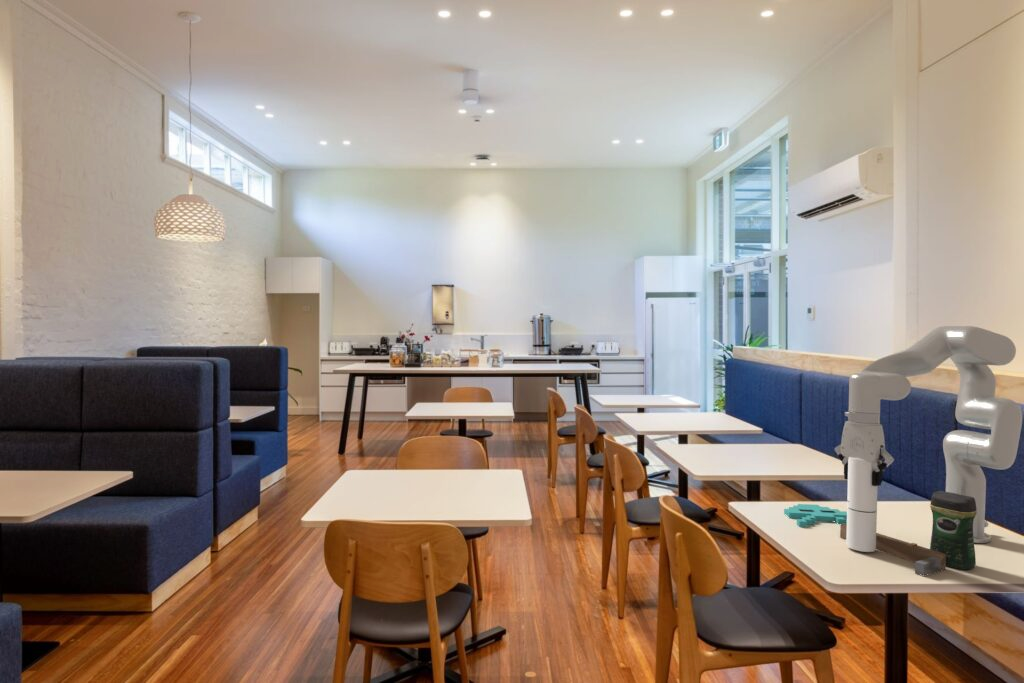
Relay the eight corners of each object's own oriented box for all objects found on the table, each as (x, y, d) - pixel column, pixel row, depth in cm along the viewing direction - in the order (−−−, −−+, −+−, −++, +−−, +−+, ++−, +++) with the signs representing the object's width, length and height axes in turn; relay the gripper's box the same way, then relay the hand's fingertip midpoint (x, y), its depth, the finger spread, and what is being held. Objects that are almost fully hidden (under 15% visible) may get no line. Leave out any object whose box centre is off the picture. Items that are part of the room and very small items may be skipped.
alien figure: (867, 531, 184) (838, 512, 204) (867, 524, 184) (838, 505, 204) (799, 528, 186) (777, 509, 206) (799, 521, 186) (777, 502, 206)
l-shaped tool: (844, 536, 178) (845, 522, 177) (945, 569, 154) (946, 552, 154) (822, 541, 173) (823, 526, 173) (923, 576, 149) (924, 559, 149)
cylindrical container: (870, 543, 169) (872, 455, 169) (879, 553, 162) (882, 461, 162) (842, 541, 171) (844, 454, 171) (850, 550, 164) (852, 459, 164)
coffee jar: (979, 566, 156) (982, 495, 156) (967, 573, 151) (969, 500, 151) (937, 554, 164) (939, 487, 164) (924, 560, 160) (926, 491, 159)
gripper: (826, 414, 172) (824, 476, 172) (887, 423, 157) (886, 491, 157) (842, 413, 175) (841, 473, 176) (904, 421, 160) (902, 488, 160)
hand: (862, 481), depth 166 cm, fingers closed on cylindrical container, 7 cm apart
